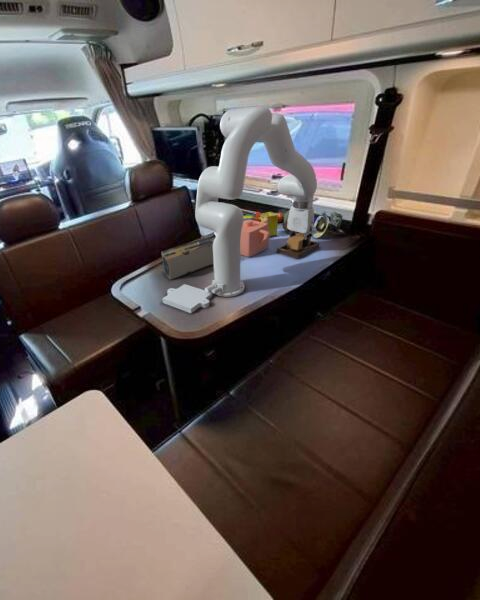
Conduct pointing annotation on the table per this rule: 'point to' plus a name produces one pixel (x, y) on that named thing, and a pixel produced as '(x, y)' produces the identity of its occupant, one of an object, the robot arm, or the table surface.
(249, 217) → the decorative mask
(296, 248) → the tan rectangular block
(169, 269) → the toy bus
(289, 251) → the brown wooden tray
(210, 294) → the mounting plate
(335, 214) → the toy vehicle
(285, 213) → the eraser
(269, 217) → the supplement box
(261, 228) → the pink jerry can
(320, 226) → the cream rimmed round part
